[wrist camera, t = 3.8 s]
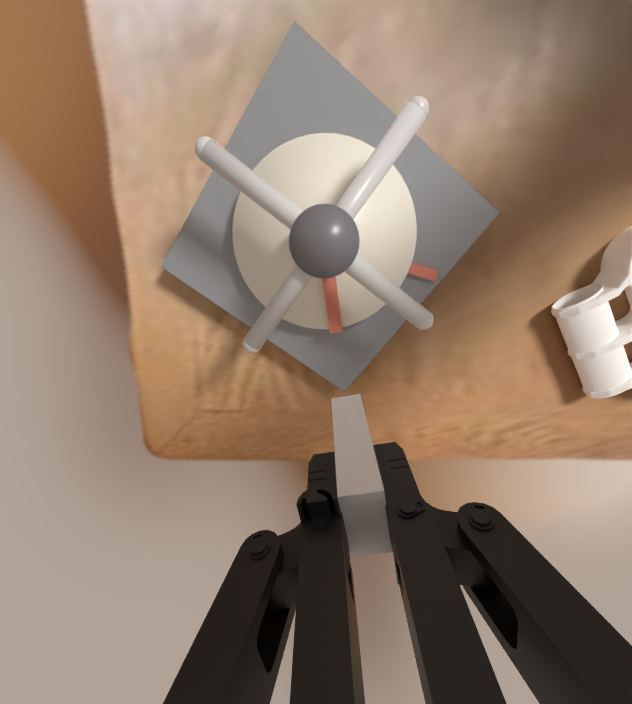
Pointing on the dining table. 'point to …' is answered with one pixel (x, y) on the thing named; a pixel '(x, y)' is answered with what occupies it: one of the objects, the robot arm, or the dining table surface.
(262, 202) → the capstan
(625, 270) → the white brass knuckles
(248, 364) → the dining table surface
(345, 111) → the dial board
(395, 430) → the dining table surface
